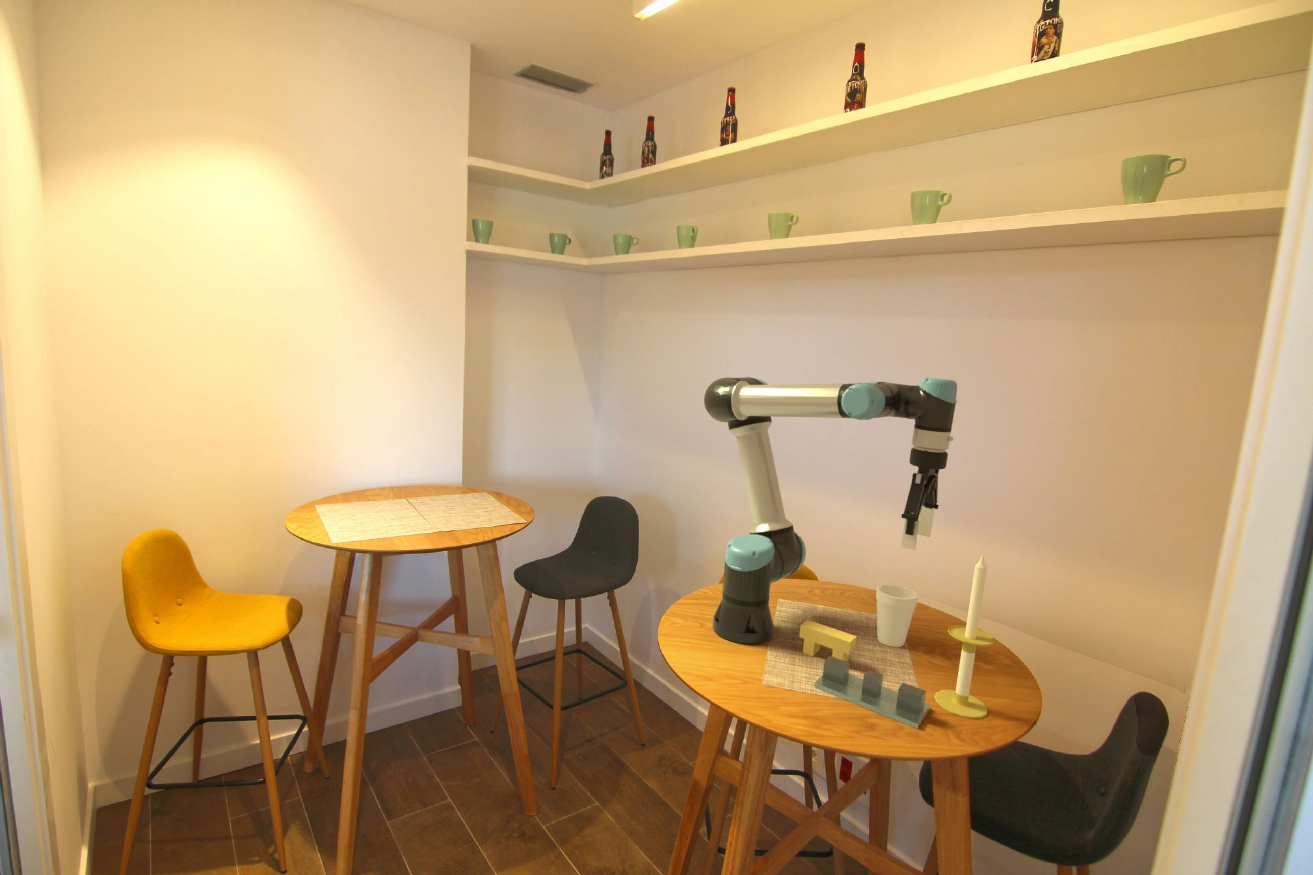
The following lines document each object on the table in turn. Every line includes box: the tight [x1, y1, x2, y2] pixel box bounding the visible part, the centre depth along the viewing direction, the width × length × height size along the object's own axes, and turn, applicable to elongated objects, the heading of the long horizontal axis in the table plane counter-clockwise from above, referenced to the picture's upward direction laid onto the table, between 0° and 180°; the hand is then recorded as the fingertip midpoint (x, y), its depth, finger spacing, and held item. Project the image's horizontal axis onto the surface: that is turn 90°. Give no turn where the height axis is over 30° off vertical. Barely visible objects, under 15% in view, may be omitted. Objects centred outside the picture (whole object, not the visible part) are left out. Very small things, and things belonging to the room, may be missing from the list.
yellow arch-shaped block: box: [799, 619, 857, 662], centre depth 143 cm, size 12×4×6 cm, turn 52°
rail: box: [813, 655, 931, 729], centre depth 127 cm, size 21×9×5 cm, turn 52°
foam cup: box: [875, 583, 918, 648], centre depth 153 cm, size 10×9×13 cm
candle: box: [934, 553, 995, 720], centre depth 125 cm, size 10×10×32 cm
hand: (916, 541), depth 138 cm, fingers open, 13 cm apart
